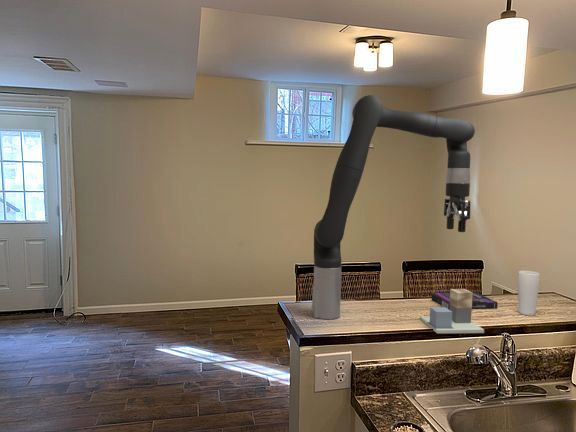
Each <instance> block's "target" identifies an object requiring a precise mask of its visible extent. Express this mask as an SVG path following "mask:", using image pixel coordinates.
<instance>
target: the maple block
mask: <svg viewBox="0 0 576 432" xmlns="http://www.w3.org/2000/svg"><path fill="white" fill-rule="evenodd" d="M449 293H450V304H451V305H453V306H454V307H456V308H472V294H473V293H472V291H470V290H467V289H466V288H450V292H449Z"/></svg>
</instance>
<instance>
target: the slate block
mask: <svg viewBox="0 0 576 432" xmlns="http://www.w3.org/2000/svg"><path fill="white" fill-rule="evenodd" d="M429 316H430V323H431V324H432V325H433V326H434V327H436V328H452V311H450V310H449V309H447V308H446V307H443V306H441V307H440V306H439V307H435V306H434V307H430V308H429Z"/></svg>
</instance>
